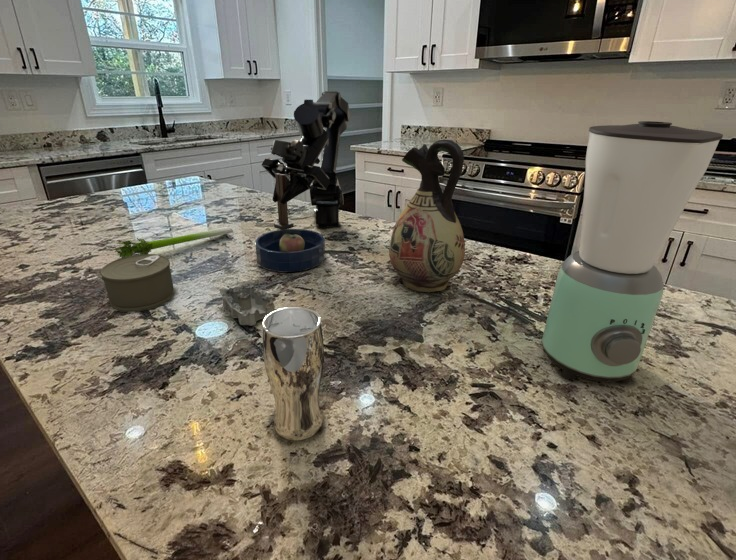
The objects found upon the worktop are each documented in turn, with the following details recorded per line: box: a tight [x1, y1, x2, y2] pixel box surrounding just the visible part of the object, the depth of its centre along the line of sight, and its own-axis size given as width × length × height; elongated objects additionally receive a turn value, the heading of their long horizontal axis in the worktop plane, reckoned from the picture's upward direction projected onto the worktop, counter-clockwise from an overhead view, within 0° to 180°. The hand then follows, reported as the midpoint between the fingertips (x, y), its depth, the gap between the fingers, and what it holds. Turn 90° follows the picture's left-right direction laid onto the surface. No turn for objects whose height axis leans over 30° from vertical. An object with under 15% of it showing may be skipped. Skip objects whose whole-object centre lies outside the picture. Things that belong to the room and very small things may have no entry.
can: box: [100, 253, 175, 313], centre depth 81 cm, size 12×12×7 cm
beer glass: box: [261, 306, 325, 441], centre depth 50 cm, size 7×7×15 cm
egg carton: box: [219, 283, 277, 327], centre depth 77 cm, size 11×8×4 cm
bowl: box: [254, 228, 326, 273], centre depth 100 cm, size 16×16×5 cm
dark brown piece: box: [273, 173, 295, 230], centre depth 99 cm, size 3×3×13 cm
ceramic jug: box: [388, 139, 466, 293], centre depth 82 cm, size 17×15×30 cm
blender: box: [541, 120, 724, 384], centre depth 58 cm, size 19×13×35 cm
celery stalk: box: [113, 226, 234, 258], centre depth 106 cm, size 6×7×30 cm
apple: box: [279, 234, 305, 252], centre depth 99 cm, size 6×8×6 cm
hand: (277, 202), depth 98 cm, fingers closed on dark brown piece, 2 cm apart
